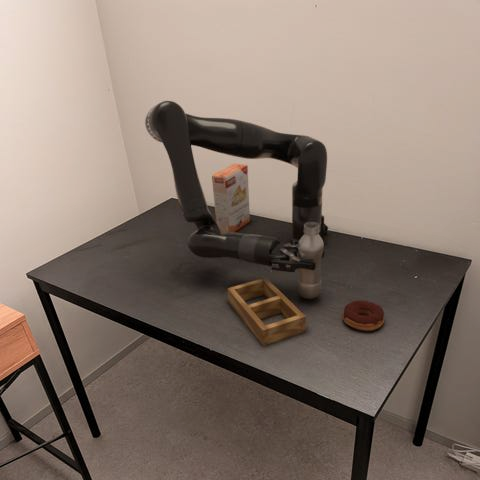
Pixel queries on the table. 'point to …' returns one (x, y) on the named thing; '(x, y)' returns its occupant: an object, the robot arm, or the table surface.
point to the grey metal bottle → (310, 250)
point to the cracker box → (231, 198)
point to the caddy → (266, 311)
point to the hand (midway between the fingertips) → (319, 259)
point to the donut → (357, 320)
